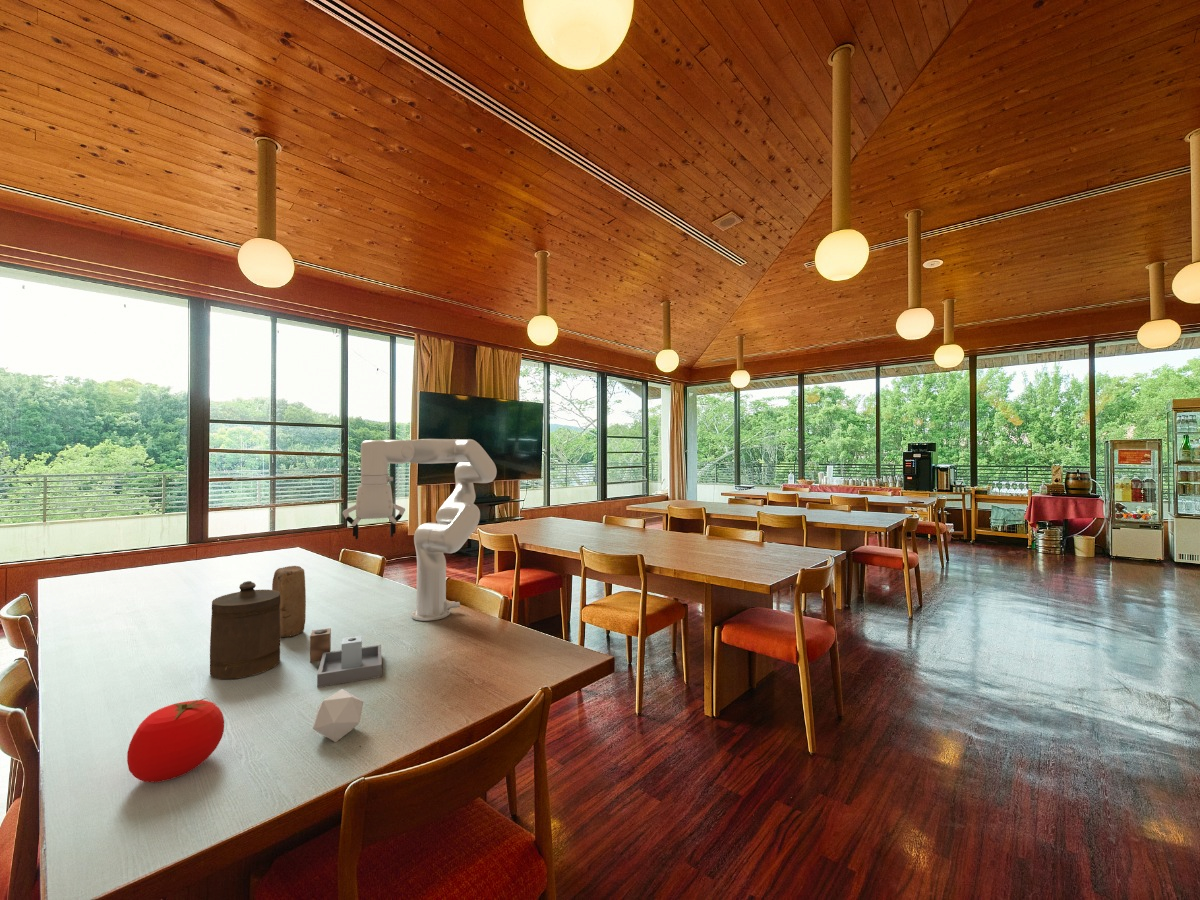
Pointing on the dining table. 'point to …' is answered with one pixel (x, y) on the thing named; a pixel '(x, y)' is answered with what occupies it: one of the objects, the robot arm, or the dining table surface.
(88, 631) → the dining table surface
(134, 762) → the tomato
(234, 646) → the wooden container
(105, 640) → the dining table surface
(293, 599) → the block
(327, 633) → the walnut block
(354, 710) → the die
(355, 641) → the grey rectangular block
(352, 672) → the tray
